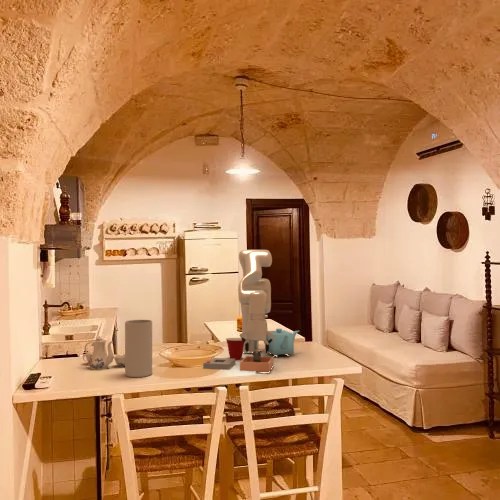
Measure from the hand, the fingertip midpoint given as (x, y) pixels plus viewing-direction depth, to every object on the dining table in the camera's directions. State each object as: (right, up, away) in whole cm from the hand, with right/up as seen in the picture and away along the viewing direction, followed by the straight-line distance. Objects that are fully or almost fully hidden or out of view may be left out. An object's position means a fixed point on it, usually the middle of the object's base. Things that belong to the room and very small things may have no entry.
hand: (257, 351), depth 237 cm
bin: (0, -9, -1) cm, 9 cm away
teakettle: (+13, -9, +33) cm, 37 cm away
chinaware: (-78, -9, +8) cm, 79 cm away
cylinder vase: (-56, -9, -9) cm, 57 cm away
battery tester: (-19, -9, +3) cm, 21 cm away
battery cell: (0, -8, -1) cm, 8 cm away
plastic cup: (-11, -9, +20) cm, 25 cm away
